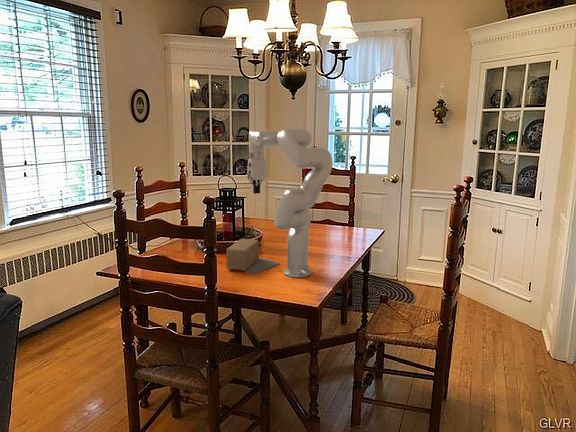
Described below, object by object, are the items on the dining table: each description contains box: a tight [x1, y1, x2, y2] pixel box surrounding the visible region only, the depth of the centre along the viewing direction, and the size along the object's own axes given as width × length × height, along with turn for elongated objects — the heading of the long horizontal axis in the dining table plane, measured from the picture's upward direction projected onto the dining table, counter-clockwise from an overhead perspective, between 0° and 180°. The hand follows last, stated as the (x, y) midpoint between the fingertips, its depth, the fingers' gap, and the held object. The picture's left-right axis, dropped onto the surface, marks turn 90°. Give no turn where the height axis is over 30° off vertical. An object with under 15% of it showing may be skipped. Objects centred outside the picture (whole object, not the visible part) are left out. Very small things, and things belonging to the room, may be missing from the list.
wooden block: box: [225, 238, 260, 272], centre depth 220 cm, size 10×10×20 cm
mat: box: [240, 257, 281, 275], centre depth 220 cm, size 19×13×1 cm
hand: (256, 193), depth 228 cm, fingers closed
